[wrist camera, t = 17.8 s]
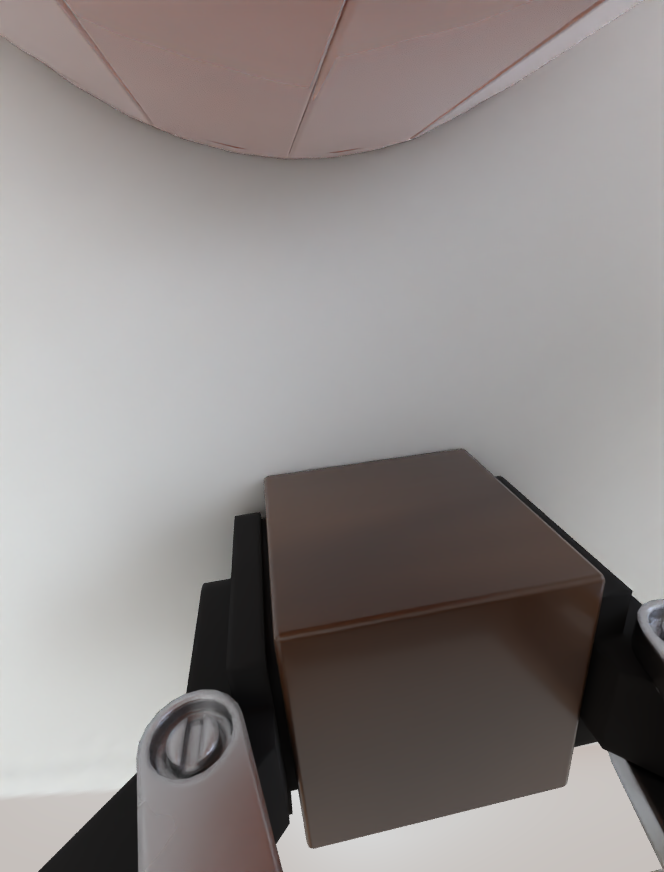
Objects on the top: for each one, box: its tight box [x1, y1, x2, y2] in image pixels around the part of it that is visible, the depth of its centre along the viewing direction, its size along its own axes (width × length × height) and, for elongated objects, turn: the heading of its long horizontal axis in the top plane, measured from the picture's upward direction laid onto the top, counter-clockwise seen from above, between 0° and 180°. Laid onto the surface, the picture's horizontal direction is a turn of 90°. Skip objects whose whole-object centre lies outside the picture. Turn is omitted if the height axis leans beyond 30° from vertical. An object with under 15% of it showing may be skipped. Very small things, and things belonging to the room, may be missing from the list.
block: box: [264, 449, 605, 849], centre depth 9 cm, size 4×4×4 cm
